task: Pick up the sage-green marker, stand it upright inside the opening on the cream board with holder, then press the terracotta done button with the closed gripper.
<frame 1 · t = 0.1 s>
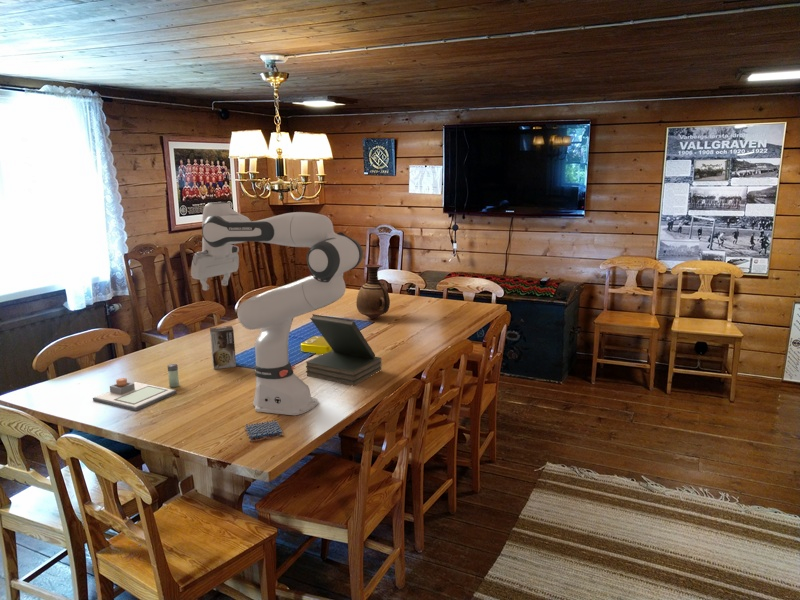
hand: (215, 287, 202), 39 cm above the table, tool pointing down, fingers open, 8 cm apart
marker: (174, 385, 216), on the table
vase: (373, 319, 317), on the table
coffee box: (224, 366, 239), on the table
done button: (121, 382, 207), point 4 cm above the table, slide at 0.0 cm
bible: (344, 374, 230), on the table
cream board with holder: (135, 396, 205), on the table
woven mat: (263, 434, 177), on the table
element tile: (321, 350, 262), on the table
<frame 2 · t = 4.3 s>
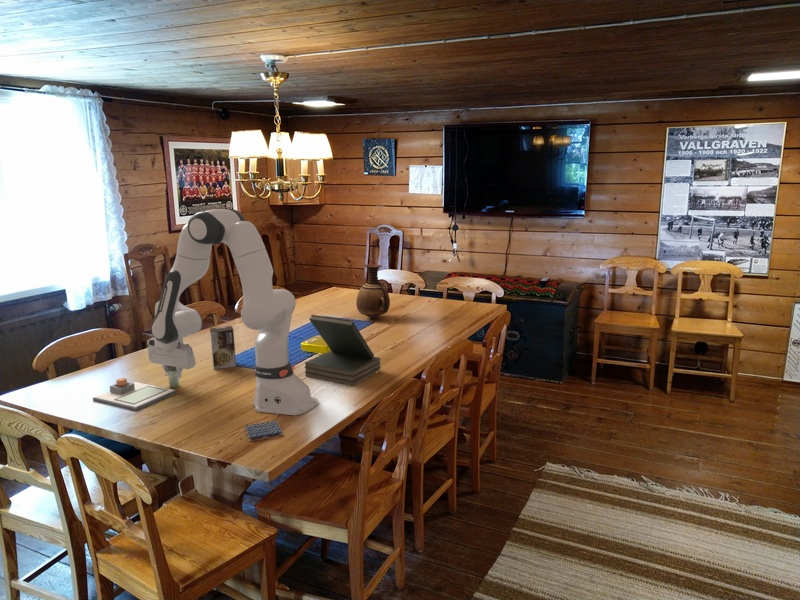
hand: (173, 376, 215), 4 cm above the table, tool pointing down, fingers closed on marker, 3 cm apart
marker: (174, 385, 216), on the table, touching gripper
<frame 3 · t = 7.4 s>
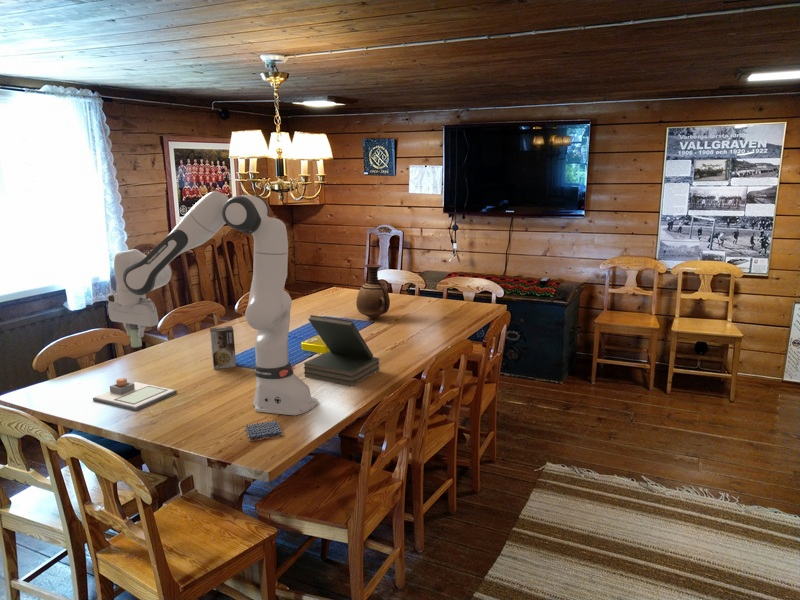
hand: (135, 336, 199), 23 cm above the table, tool pointing down, fingers closed on marker, 3 cm apart
marker: (136, 346, 200), point 19 cm above the table, touching gripper
when the fingers open (6 cm above the table, at t = 10.8 s): marker stays where it is, resting on cream board with holder.
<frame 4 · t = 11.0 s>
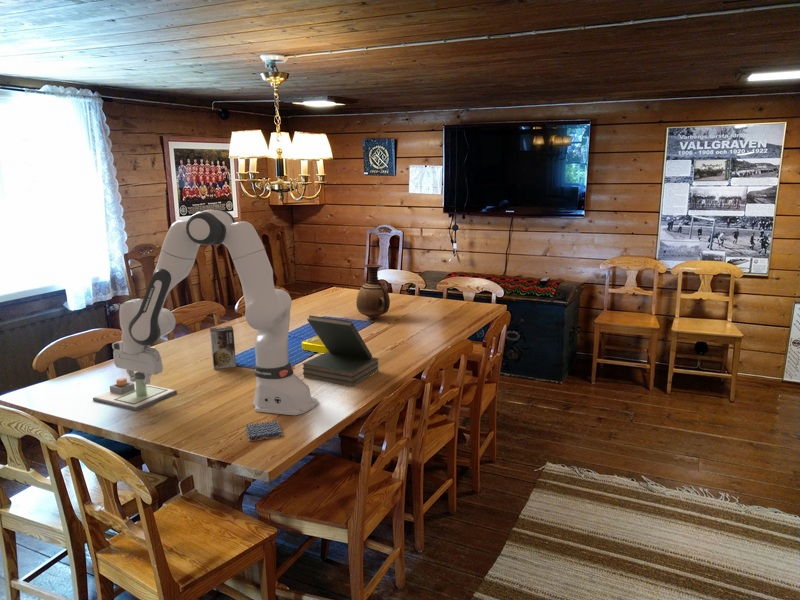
hand: (140, 382, 203), 6 cm above the table, tool pointing down, fingers open, 5 cm apart
marker: (141, 394, 204), point 1 cm above the table, touching cream board with holder
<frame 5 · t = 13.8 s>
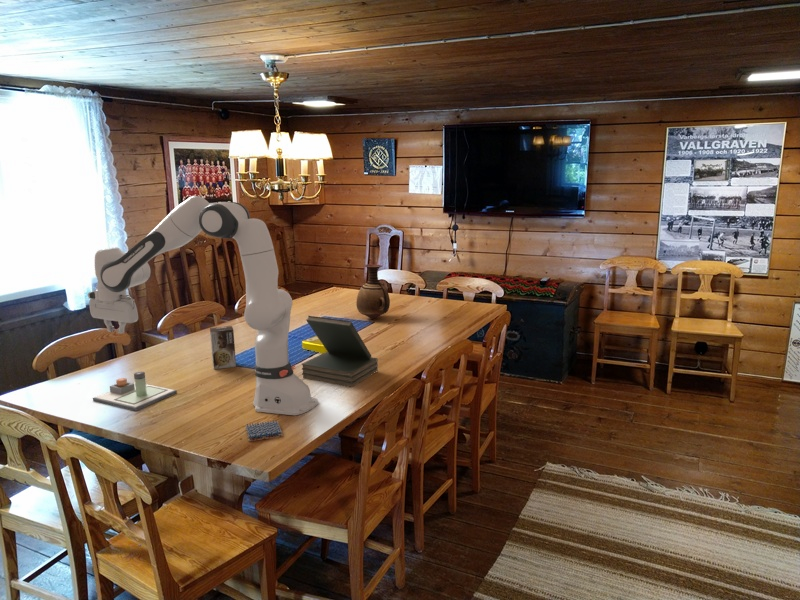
hand: (116, 332, 203), 23 cm above the table, tool pointing down, fingers open, 4 cm apart
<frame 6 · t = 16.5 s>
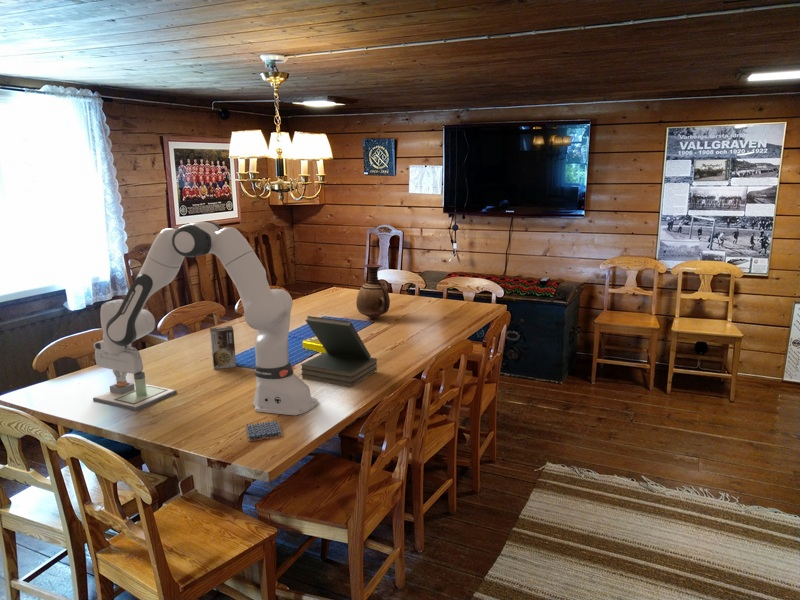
hand: (121, 381, 207), 5 cm above the table, tool pointing down, fingers closed, pressing on done button
done button: (121, 384, 207), point 4 cm above the table, slide at 0.7 cm, touching gripper
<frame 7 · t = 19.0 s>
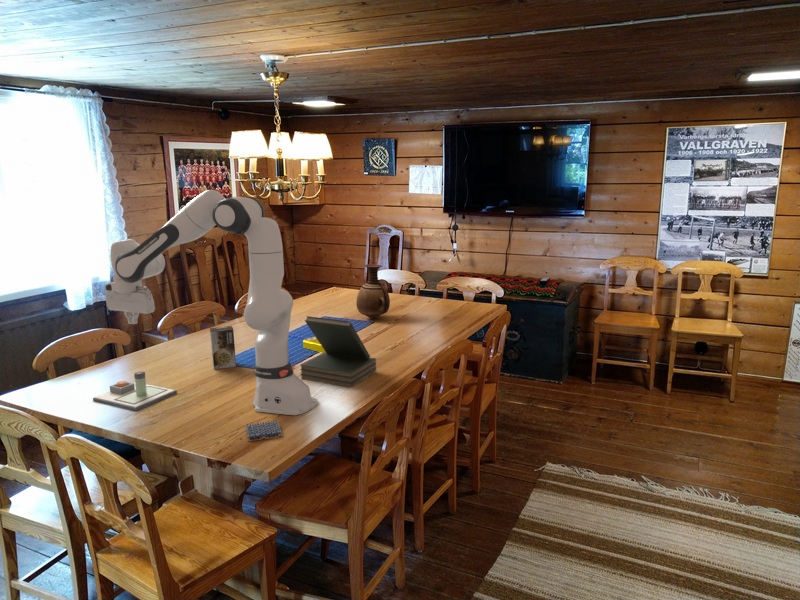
hand: (133, 323, 205), 26 cm above the table, tool pointing down, fingers closed
done button: (122, 385, 207), point 3 cm above the table, slide at 1.1 cm
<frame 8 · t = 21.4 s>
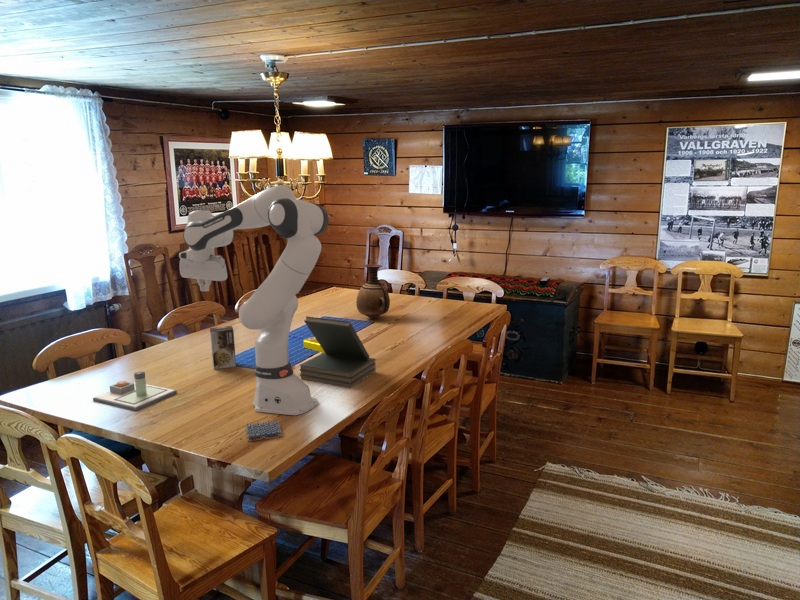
hand: (204, 290, 215), 35 cm above the table, tool pointing down, fingers closed
at the end: marker inside the target area on the cream board with holder (0.1 cm from its centre), point 1.3 cm above the cream board with holder's base; marker tilted 1°; done button slide at 1.1 cm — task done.
